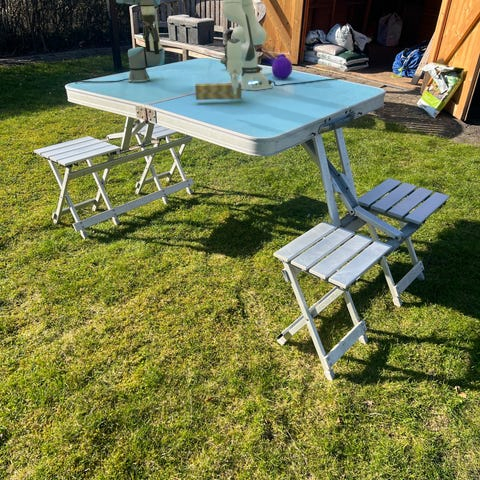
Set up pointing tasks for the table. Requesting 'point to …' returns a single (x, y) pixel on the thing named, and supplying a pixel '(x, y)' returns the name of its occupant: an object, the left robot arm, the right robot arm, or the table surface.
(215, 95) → the bar
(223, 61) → the teapot
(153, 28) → the left robot arm
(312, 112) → the table surface
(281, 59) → the toy
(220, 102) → the table surface
